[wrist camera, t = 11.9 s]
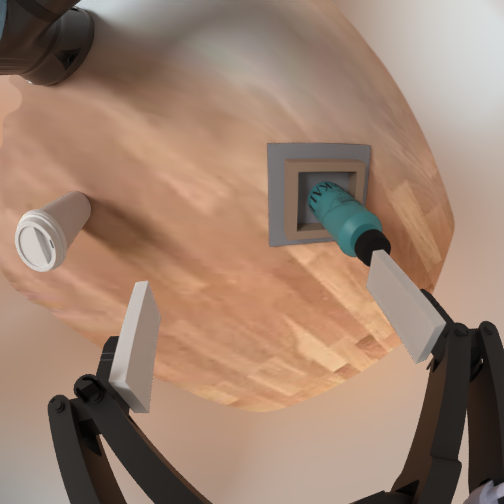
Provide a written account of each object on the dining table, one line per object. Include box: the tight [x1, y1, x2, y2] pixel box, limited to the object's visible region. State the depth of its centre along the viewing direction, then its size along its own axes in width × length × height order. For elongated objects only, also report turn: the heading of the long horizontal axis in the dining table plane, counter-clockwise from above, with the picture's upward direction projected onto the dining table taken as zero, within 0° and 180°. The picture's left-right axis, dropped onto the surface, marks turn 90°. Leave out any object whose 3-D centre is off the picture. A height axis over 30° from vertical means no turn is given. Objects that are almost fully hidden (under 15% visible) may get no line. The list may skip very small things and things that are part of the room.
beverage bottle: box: [307, 182, 391, 267], centre depth 37 cm, size 6×7×20 cm
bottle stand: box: [267, 143, 371, 247], centre depth 45 cm, size 18×18×4 cm
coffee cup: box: [15, 191, 91, 272], centre depth 36 cm, size 10×10×15 cm
